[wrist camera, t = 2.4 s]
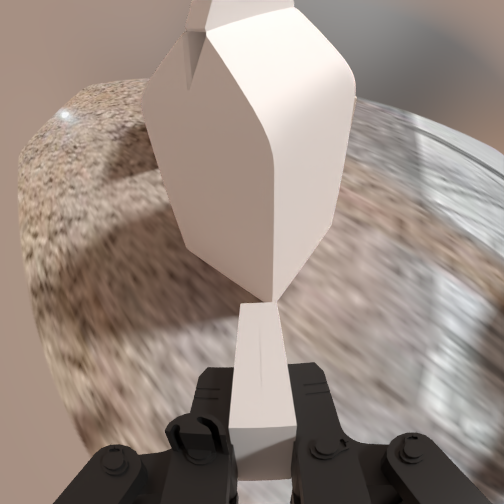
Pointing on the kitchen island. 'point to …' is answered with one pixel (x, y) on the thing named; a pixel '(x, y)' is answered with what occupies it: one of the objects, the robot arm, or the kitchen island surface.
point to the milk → (251, 137)
